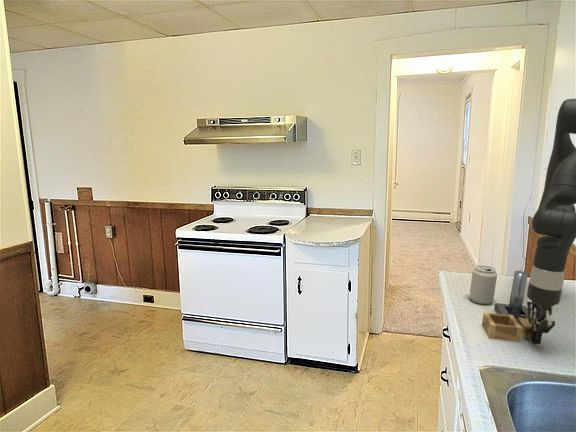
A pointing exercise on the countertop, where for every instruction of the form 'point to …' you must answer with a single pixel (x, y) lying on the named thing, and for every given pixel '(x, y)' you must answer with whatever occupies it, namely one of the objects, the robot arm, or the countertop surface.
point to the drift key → (525, 327)
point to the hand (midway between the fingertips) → (535, 342)
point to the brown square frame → (501, 326)
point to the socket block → (504, 308)
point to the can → (483, 284)
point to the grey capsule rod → (517, 292)
